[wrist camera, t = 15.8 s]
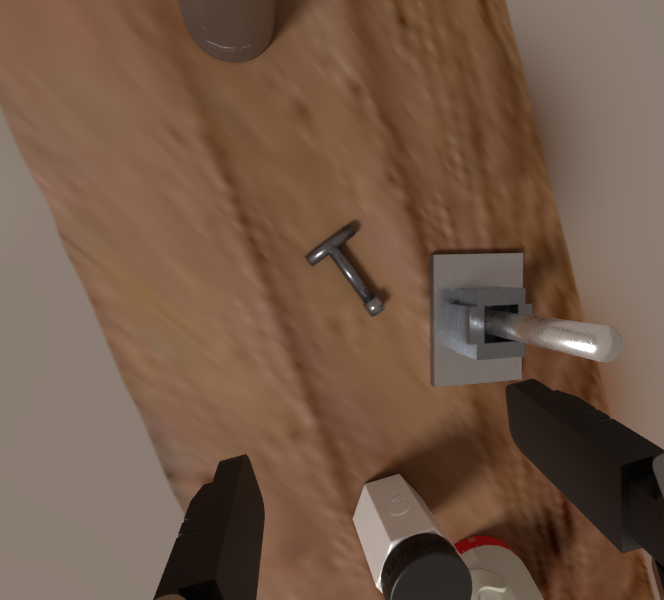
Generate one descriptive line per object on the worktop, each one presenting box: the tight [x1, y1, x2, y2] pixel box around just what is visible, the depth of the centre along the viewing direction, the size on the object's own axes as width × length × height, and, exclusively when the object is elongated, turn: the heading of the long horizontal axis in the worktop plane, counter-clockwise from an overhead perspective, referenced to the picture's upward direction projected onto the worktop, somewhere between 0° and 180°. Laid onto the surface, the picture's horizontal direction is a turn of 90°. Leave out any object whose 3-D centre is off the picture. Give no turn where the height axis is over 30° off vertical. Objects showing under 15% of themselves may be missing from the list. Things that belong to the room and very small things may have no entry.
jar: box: [353, 474, 472, 600], centre depth 36 cm, size 9×8×12 cm
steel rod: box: [484, 309, 622, 362], centre depth 33 cm, size 3×3×16 cm
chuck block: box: [430, 253, 532, 387], centre depth 40 cm, size 16×12×5 cm
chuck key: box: [305, 225, 385, 316], centre depth 38 cm, size 10×6×2 cm, turn 37°
